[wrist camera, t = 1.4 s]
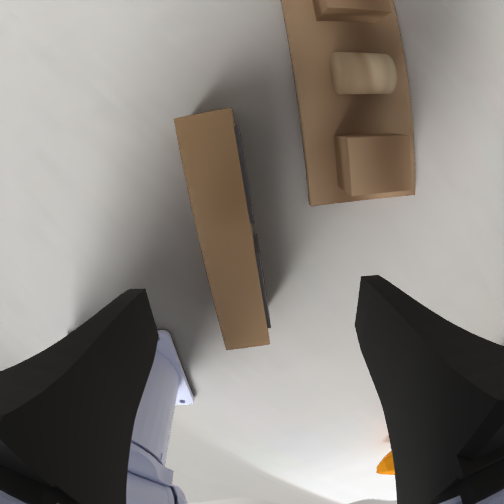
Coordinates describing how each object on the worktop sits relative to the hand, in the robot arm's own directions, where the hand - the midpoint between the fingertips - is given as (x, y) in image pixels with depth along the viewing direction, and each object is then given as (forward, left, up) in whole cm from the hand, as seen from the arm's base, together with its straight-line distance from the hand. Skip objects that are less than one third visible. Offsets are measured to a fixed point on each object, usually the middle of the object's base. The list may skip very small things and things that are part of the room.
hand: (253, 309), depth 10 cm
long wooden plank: (-1, 0, -10) cm, 10 cm away
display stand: (+7, +8, -10) cm, 14 cm away
